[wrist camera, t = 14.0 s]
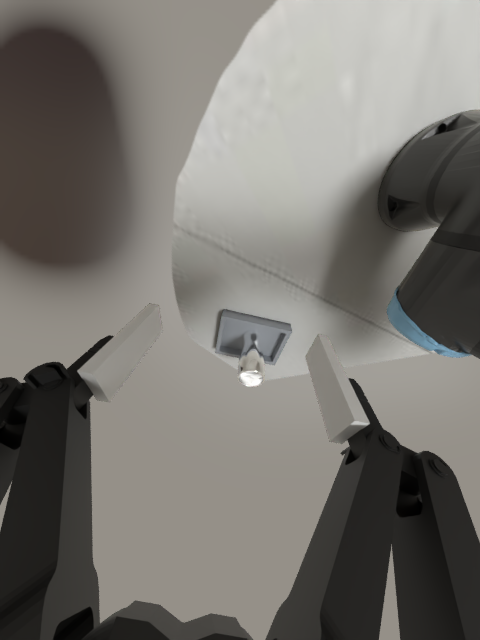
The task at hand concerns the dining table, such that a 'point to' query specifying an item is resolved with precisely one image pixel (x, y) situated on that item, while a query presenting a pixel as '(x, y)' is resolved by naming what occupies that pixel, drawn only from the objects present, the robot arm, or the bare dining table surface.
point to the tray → (240, 323)
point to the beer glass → (251, 360)
